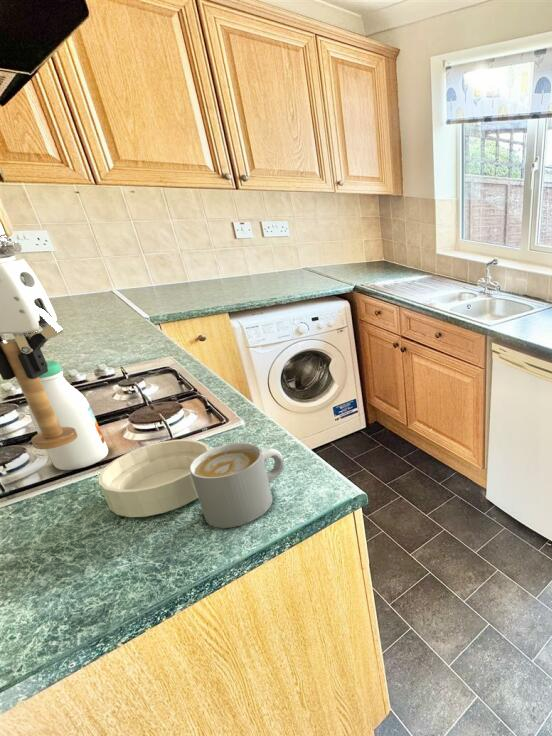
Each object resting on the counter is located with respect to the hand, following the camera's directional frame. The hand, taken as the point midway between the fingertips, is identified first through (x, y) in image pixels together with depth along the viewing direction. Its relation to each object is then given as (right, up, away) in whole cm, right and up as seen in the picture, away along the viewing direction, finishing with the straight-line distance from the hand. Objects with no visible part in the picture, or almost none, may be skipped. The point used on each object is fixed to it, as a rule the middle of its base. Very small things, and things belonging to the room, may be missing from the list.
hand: (26, 374), depth 63 cm
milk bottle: (-10, -16, +19) cm, 27 cm away
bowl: (+12, -21, +12) cm, 26 cm away
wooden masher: (-1, -11, +5) cm, 12 cm away
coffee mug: (+27, -23, +11) cm, 37 cm away
